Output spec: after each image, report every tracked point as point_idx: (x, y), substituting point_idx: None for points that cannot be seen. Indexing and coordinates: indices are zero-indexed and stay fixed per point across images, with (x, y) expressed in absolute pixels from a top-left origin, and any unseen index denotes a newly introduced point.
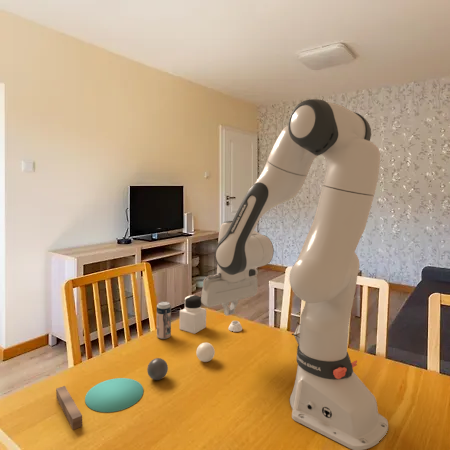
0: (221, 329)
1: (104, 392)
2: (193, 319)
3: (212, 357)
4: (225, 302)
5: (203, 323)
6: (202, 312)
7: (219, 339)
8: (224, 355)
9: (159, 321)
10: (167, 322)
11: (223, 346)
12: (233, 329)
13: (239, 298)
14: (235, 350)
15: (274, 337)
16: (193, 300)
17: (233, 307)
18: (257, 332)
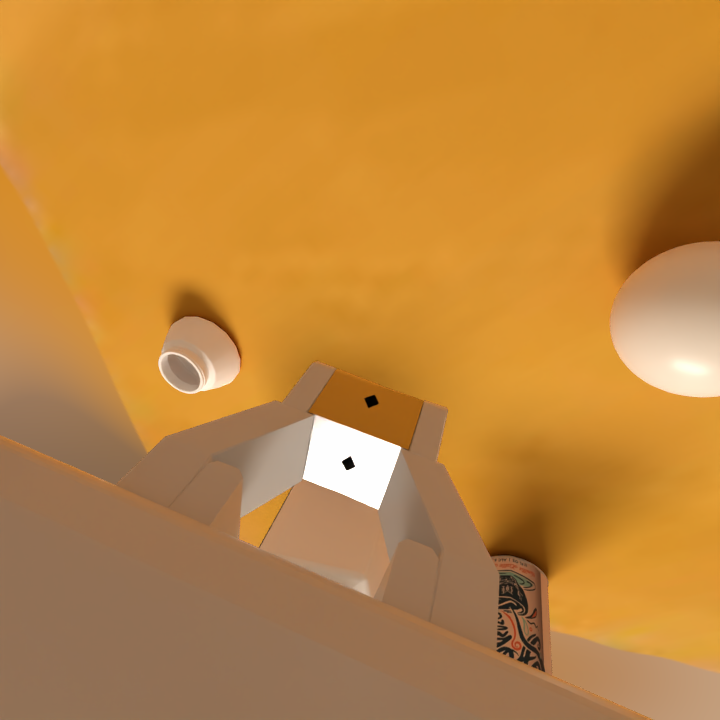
0: (262, 404)
1: None
2: (376, 556)
3: (711, 241)
4: (596, 716)
5: (313, 494)
6: (294, 554)
7: (356, 361)
8: (522, 223)
9: None
10: (522, 646)
11: (413, 299)
12: (226, 351)
13: (61, 500)
14: (409, 202)
15: (76, 87)
16: None
17: (293, 432)
18: (129, 228)
